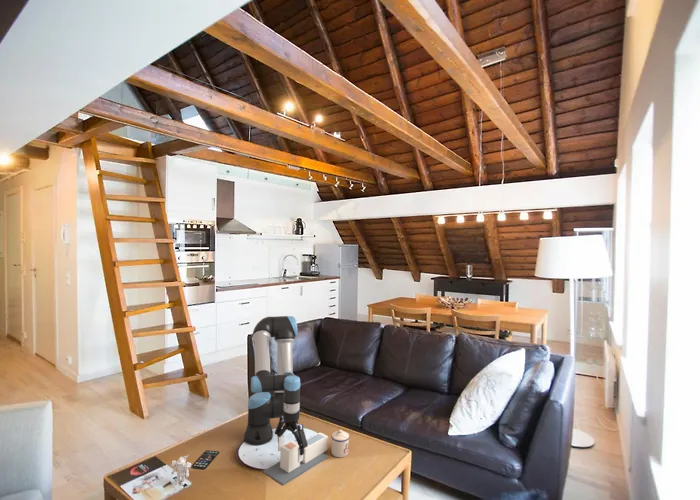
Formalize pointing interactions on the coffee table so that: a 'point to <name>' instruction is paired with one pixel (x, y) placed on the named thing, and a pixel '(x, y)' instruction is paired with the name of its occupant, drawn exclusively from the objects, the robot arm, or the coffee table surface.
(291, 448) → the box with pink panel
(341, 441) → the teacup with lid
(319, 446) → the cream long box
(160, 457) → the coffee table surface
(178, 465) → the hat wearing toy figure
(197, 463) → the smartphone
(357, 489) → the coffee table surface
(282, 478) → the mat
